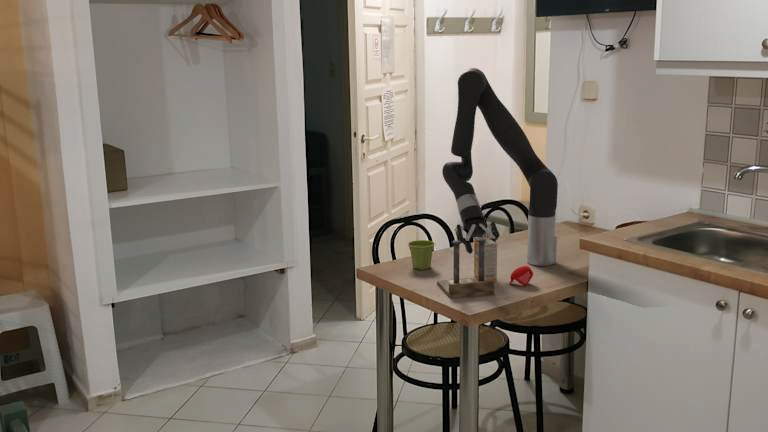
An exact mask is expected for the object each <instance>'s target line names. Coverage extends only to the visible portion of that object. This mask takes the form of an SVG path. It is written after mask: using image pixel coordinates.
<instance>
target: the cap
mask: <svg viewBox="0 0 768 432" xmlns="http://www.w3.org/2000/svg"><path fill="white" fill-rule="evenodd" d="M533 276H534V272H533V270H532V268H531V267H530V266H529V265H528V266H527V265H523V266H520V267H517V268H515V269H514V270H513V272H512V273H511V275H510V281H509V285H511V284H513V282H514V281H516V282H518V284H520V285H522V286H523V287H528V284H529V283H530V281H531V280H532V278H533Z"/></svg>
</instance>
